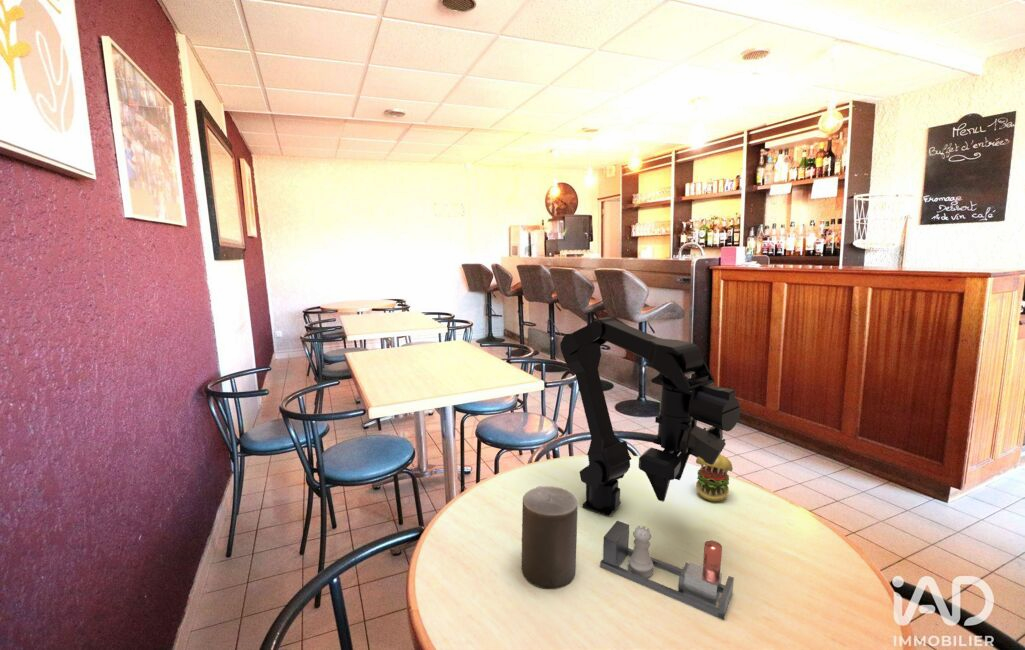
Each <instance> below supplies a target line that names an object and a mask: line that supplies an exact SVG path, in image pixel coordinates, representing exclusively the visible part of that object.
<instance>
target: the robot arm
mask: <svg viewBox="0 0 1025 650" xmlns="http://www.w3.org/2000/svg"><path fill="white" fill-rule="evenodd" d="M559 343H560V344H559V347H560V351H561V354H562V357H563V359H564V362H565V364H566V365H567V366H568V368H570V371H572V372H573V373H574V374H575V378H576V381H577V385H578V391H579V394H580V398H581V402H582V406H583V410H584V414H585V418H586V422H587V427H588V430H589V435H590V444H589V447H588V452H587V456H588V465H587V466H585V467H584V468H583V469H581V470H580V471H579V477H580V482H581V483H584V484H585V486H586V487H585V501H584V502H583V503H582V508H583V509H587V510H590V511H592V512H595V513H597V514H600V515H603V516H607V517H610V516H611V515H612V514H613V513H614V512H615V511H616V510H617V509H618V508H619V506H620V505H621V488H620V487H619V479H623V478H624V477H625V474H626V473H628V471H629V470H630V468H631V460H632V457H631V455H630V451H629V448H628V443H627V441H625V440H623V441H621V440H620V439H619V438H618V437H617V436H616V434H615V432H614V428H613V425H612V424H613V423H612V420H611V417H610V416H611V415H610V413H609V408H608V405H607V401H606V397H605V392H604V388H603V385H602V381H601V380H602V379H601V377H600V373H599V366H600V362H601V357H602V351H601V347H602V346H604V345H605V344H607V343H610V344H612V345H614V346H616V347H619V348H621V349H623V350H626V351H627V352H629V353H632V354H634V355H636V356H638V357H640V358H643V359H645V360H646V361H647V362H648V363H649V365H650V366H651V367H652V369H654V370H655V372H657V373H659V374H657V375H656V376H655V377H653V378H651V379H650V382H651V383H652V384H655V385H658V386H661V387H660V388H661V389H660V400H659V414H657V416H655V420H654V421H655V423H656V424H658V426H657V428H658V429H657V435H656V436H654V438H653V444H655V445H658V446H660V448H662V449H658V448H654V447H650V448H648V449H646V450H645V451H644V452H643V453H642V454H641V455H640V456H639V457H638V469H639V471H642V472H644V474H646V477H647V479H648V481H649V483H650V485H651V487H652V490H653V492H654V494H655V496H656V500H658V501H660V502H662V503H663V502H665V500H666V497H667V494H668V489H669V487H670V482H671V481H674V480H676V481H680V480H681V479H682V477H683V475H684V470H685V468H686V465H687V464H688V463H687V462H688V460H689V457H690V455H692V454H693V455H695V456H697V457H700V458H702V459H703V460H704V461H705V462H706V463H708V464H710V465H713V464H714V463H715V461H716V460H717V458H718V456H719V455H720V454H721V453H722V452H723V449H725V446H726V444H727V443H726V439H725V438H724V436H723V435H724V434H723V433H724V432H730V431H732V430H733V429H734V428H735V427H736V425H737V423H738V421H739V419H740V415H741V409H742V408H741V407H740V401H739V399H738V397H736V390H735V389H731V388H727V387H725V388H724V387H721V386H718V385H713V384H715V382H716V381H715V379H714V377H713V374H712V372H711V370H710V368H709V367H708V365H707V364H706V361H705V360H704V356H703V353H702V351H701V347H699V346H698V345H697V344H695V343H694V342H691V341H685V340H680V339H673V338H672V339H671V338H670V339H669V338H663V337H662V338H661V337H658V336H655V335H652V334H650V333H648V332H645V331H643V330H639V329H638V328H636V327H633V326H631V325H628V324H626V323H622V322H620V321H618V320H616V319H615V318H613V317H610V316H607V317H601V318H596V319H594V320H593V321H591V322H590V323H588V324H587V325H586V326H583V327H581V328H579V329H577V330H575V331H573V332H571V333H567V334H565V335H564V336H563V337H562V339H561V341H560V342H559ZM693 374H694V375H695V376H693V377H689V378H687V377H686V376H691V375H693ZM697 422H700V423H703V424H705V425H708V426H711V427H709V428H708V429H707V428H706V427H703V428H701V427H699V425H697ZM723 431H724V432H723Z"/></svg>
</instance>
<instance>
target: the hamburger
mask: <svg viewBox="0 0 1025 650" xmlns="http://www.w3.org/2000/svg"><path fill="white" fill-rule="evenodd" d="M695 464H699V465H700V469H698V470H697V478H696V479H697V481H696V483H695V484H696V487H695V488H696V490H697V493H698V494H699V495H700V496H701V497H702V498H704V499H705V500H707V501H709V502H719V501H722V500H724V499H726V497H727V496H728V494H729V491H730V490H729V486H728V485H729V484H730V476H729V475H728V471H729V472H732V471H733V464H732V461H731V460H730V459H729V458H728V457H726V456H725V455H723V454H721V453H720V455H719V456H718V458H717V460H716V461H715V463H714V464H713V465H710V464H708V463H706V462H705V461H704V460H703V459H702V458H700V457H698V456H697V458H696V461H695Z"/></svg>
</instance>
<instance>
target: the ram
mask: <svg viewBox="0 0 1025 650" xmlns="http://www.w3.org/2000/svg"><path fill="white" fill-rule="evenodd" d="M722 555H723V546H722V544H721V543H719V542H718V541H715V540H706V541H705V542H704V547H703V560H702V561H703V563H702V565H700V564H698V563H695V562H692V561H690V562H686V561H685V563H684V564H683V567H682V568H681V569H682V571H681V573H680V575H679V576H678V585H677V586H678V587H677V588H678V589H677V591H679V592H681V593H683V594H686V595H688V596H691V597H693V598H695V599H698V600H700V601H703V602H705V603H707V604H710V605H712V606H715V607H717V605H718V601H720V598H721V584H722V580H723V579H722V578H723V577H722V576H723V573H722V572H721V569H722V567H721V566H722V558H723V556H722Z"/></svg>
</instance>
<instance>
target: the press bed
mask: <svg viewBox="0 0 1025 650" xmlns="http://www.w3.org/2000/svg"><path fill="white" fill-rule="evenodd" d="M629 543H630V524H628V523H624V522H622V521H620V520H616V521H615V523H613V525H612V526H611V528H609V530H608V531H607V532H606V533H605V535H604V536H603V546H602V547H603V548H602V549H603V551H602V552H603V553H602V559H601V560H600V562H599V567H600V568H601V569H604V570H606V571H609V572H611V573H613V574H615V575H618V576H621V577H623V578H624V579H628V580H629V581H632V582H633V583H636V584H639V585H641V586H643V587H646V588H648V589H651V590H653V591H655V592H657V593H660V594H663V595H665V596H667V597H669V598H672V599H674V600H676V601H679V602H681V603H684V604H686V605H688V606H690V607H693V608H695V609H698V610H700V611H702V612H705V613H707V614H709V615H711V616H713V617H715V618H719V619H721V620H722V621H724V620H725V618H726V617H725V616H726V614H727V611H728V609H729V605H730V602H731V600H732V596H733V592H734V591H733V590H734V581H735V577H733V576H730V575H728V577H727V579H726V582H725V584H723V583H721V592H720V597H719V605H718V607H717V606H716V607H715V606H712V605H710V604H707V603H705V602H703V601H700V600H698V599H695V598H693V597H691V596H688V595H686V594H683V593H681V592H679V591H678V590H676V589H673V588H671V587H669V586H667V585H664V584H661V583H659V582H656V581H654V580H652V579H650V578H648V577H647V578H645V577H643V576H640V575H638V574H635V573H633V572H631V571H630V570H629V569H626V568H623V567H621V565H622V564H623V562H624V561H625V559H626V558H627V556H628V557H629V558H630V557H631V555H632V554H633V552H634V549H632V548H630V547H629V545H630V544H629ZM650 557H651V560H652V562H653V567H655V568H658V569H661V570H664V571H665V572H668V573H671V574H673V575H676V576H678V577H679V575H680V573H681V571H682V569H683V568H681V567H679V566H676V565H674V564H671V563H668V562H666V561H663V560H660V559H658V558H656V557H652V556H650Z"/></svg>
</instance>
